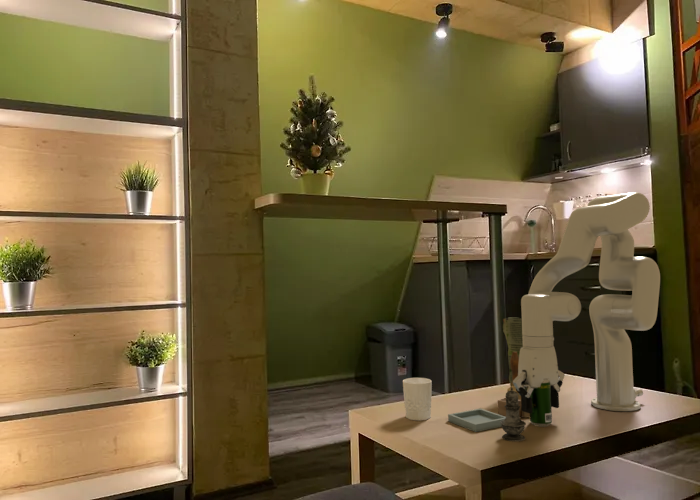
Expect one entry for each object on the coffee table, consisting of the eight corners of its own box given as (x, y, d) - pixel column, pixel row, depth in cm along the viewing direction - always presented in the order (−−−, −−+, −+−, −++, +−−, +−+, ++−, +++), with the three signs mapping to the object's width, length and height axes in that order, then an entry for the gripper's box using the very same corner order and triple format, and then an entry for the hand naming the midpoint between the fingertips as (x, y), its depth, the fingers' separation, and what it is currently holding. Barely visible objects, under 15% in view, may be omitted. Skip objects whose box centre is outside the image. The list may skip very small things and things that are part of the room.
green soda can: (556, 423, 139) (554, 376, 139) (544, 428, 136) (543, 380, 136) (537, 419, 143) (535, 373, 143) (525, 423, 140) (524, 377, 140)
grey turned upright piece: (497, 434, 132) (495, 384, 132) (520, 433, 132) (518, 383, 132) (506, 442, 126) (504, 390, 126) (530, 441, 126) (528, 389, 127)
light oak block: (533, 412, 151) (533, 401, 151) (543, 415, 147) (542, 404, 147) (515, 414, 149) (515, 403, 149) (524, 418, 145) (524, 407, 146)
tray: (480, 414, 149) (480, 408, 149) (509, 424, 139) (508, 417, 139) (448, 421, 144) (448, 414, 144) (475, 431, 134) (475, 424, 134)
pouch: (502, 395, 169) (499, 315, 170) (525, 389, 176) (522, 312, 177) (532, 402, 160) (529, 317, 161) (556, 395, 167) (552, 314, 168)
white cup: (435, 414, 151) (433, 378, 151) (429, 422, 143) (428, 384, 144) (407, 412, 153) (406, 377, 154) (400, 420, 146) (399, 383, 146)
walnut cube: (507, 413, 150) (506, 397, 150) (522, 416, 146) (521, 400, 146) (498, 417, 147) (497, 400, 147) (513, 420, 143) (512, 403, 143)
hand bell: (504, 402, 161) (502, 349, 161) (533, 405, 157) (531, 350, 158) (498, 409, 154) (496, 353, 154) (528, 412, 150) (526, 354, 150)
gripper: (550, 337, 147) (553, 401, 147) (502, 343, 139) (504, 411, 139) (573, 340, 141) (576, 407, 140) (523, 347, 133) (526, 418, 132)
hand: (540, 409), depth 139 cm, fingers open, 8 cm apart
